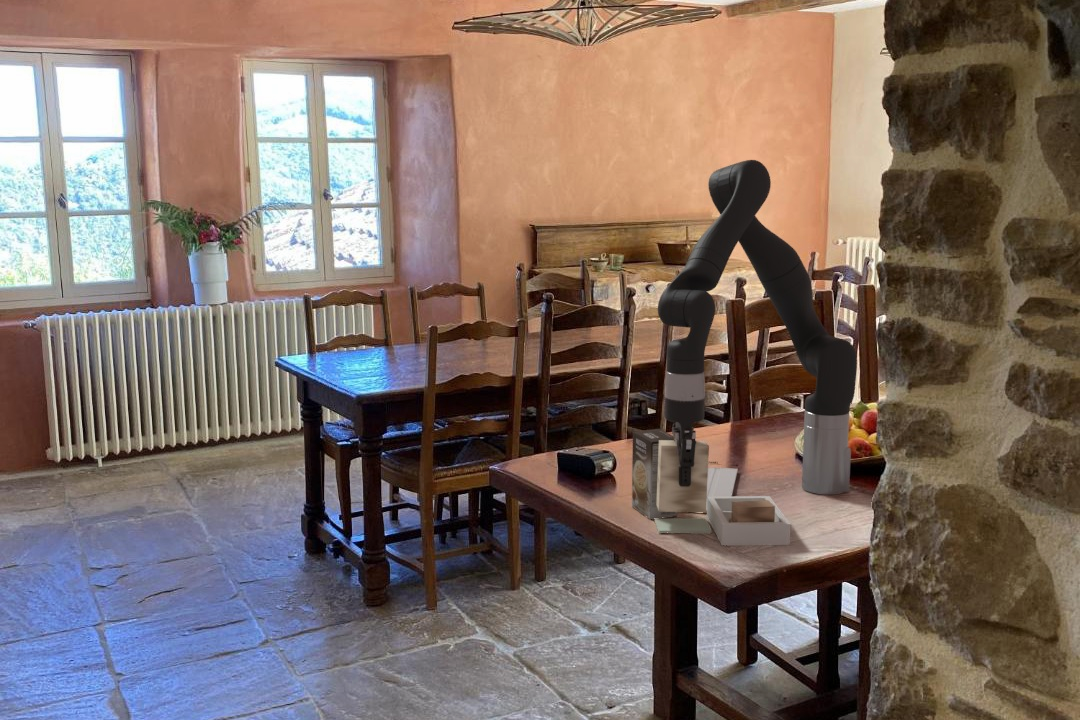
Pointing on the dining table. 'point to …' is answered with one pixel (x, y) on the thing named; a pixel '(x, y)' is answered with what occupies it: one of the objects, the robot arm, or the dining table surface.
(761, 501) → the walnut offcut upper
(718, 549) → the dining table surface
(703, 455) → the pale wood block
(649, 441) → the coffee box
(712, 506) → the white open tray
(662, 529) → the felt mat
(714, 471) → the baseboard molding
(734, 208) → the robot arm
